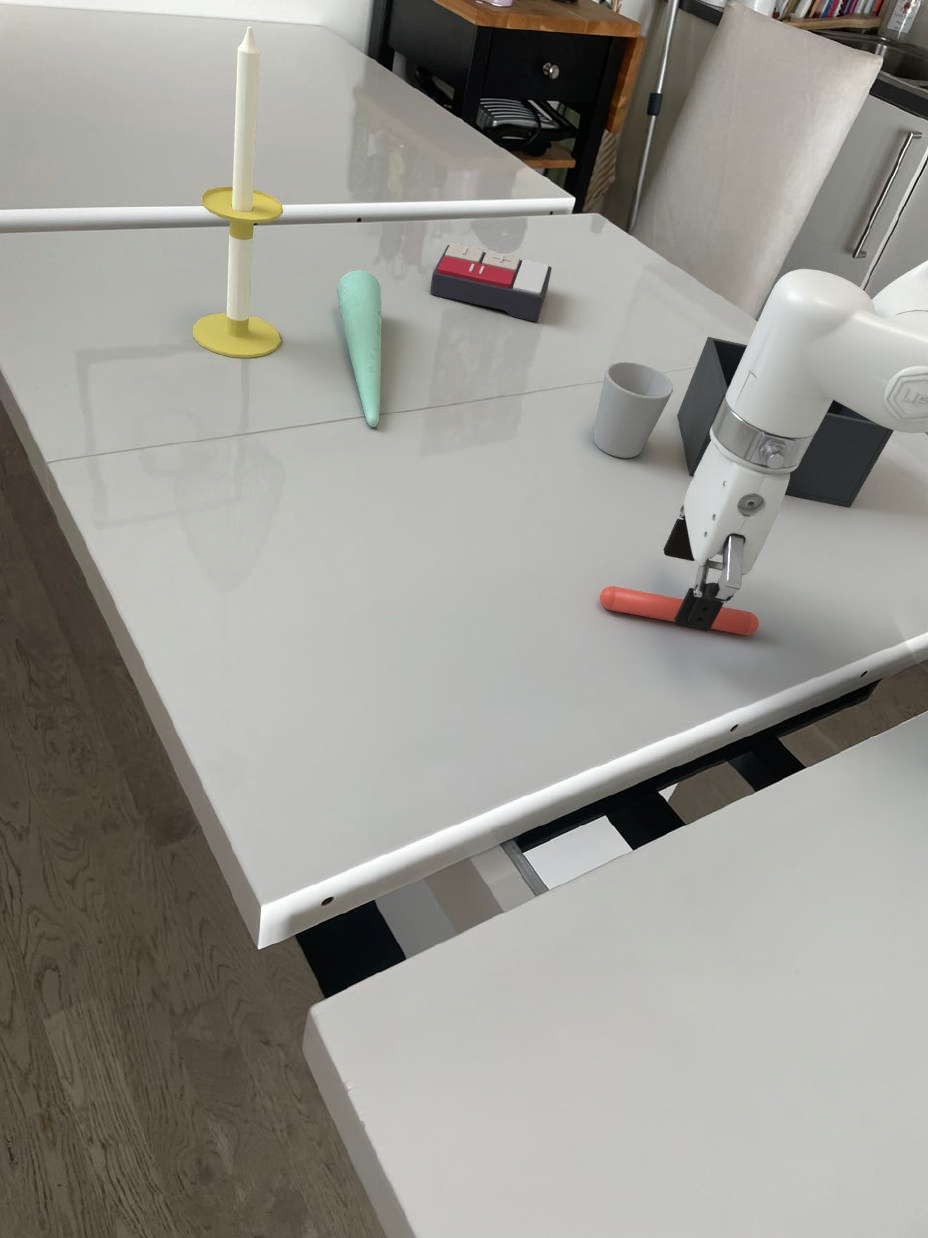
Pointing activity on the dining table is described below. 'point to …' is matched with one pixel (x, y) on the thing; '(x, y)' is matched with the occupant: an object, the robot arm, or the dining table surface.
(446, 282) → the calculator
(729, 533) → the robot arm
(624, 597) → the red rod
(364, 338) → the long green cone
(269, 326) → the candle
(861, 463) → the bin
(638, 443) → the cup
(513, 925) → the dining table surface
